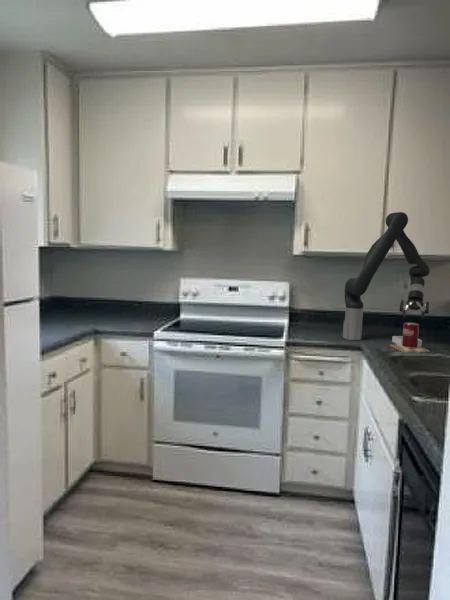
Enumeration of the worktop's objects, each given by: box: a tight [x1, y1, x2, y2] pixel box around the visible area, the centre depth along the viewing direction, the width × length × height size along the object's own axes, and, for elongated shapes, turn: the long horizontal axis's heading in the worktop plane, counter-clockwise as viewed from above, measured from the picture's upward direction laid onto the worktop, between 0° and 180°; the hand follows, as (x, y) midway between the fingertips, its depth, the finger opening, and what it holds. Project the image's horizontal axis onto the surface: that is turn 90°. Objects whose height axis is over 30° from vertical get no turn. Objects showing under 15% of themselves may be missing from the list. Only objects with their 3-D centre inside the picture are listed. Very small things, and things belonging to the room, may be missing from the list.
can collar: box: [391, 335, 423, 347], centre depth 259 cm, size 11×11×3 cm
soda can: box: [402, 322, 420, 349], centre depth 245 cm, size 7×7×12 cm
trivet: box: [389, 343, 431, 353], centre depth 245 cm, size 14×14×1 cm
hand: (412, 317), depth 254 cm, fingers open, 8 cm apart
